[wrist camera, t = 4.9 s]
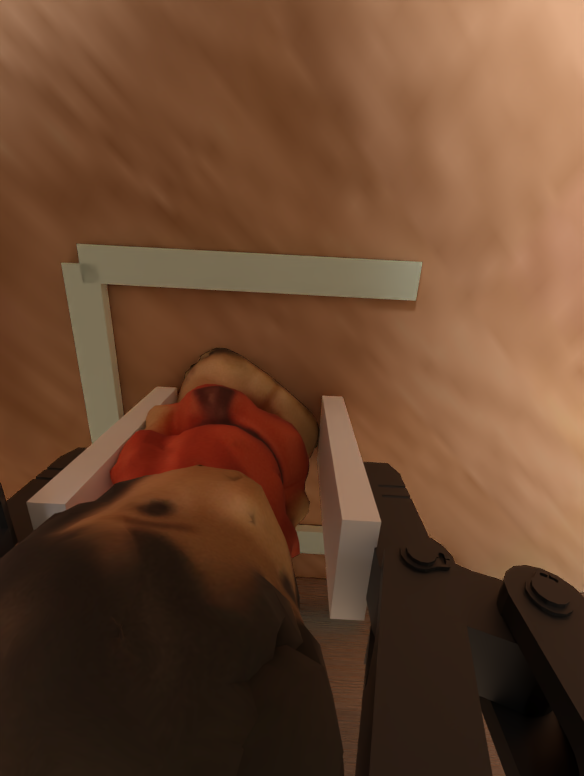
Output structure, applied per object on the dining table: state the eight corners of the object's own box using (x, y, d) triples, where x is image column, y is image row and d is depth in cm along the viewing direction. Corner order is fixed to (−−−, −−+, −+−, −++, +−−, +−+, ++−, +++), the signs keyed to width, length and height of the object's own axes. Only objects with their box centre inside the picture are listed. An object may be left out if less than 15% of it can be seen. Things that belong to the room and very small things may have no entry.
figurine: (312, 493, 15) (355, 1271, 3) (179, 483, 15) (-224, 1239, 3) (328, 347, 12) (604, 1175, 1) (172, 335, 12) (-1065, 1082, 1)
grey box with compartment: (128, 720, 20) (48, 937, 14) (99, 566, 16) (-35, 772, 10) (569, 745, 20) (697, 975, 14) (653, 597, 16) (893, 826, 10)
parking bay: (113, 535, 16) (108, 542, 15) (65, 243, 11) (57, 242, 11) (370, 550, 16) (372, 556, 15) (418, 261, 11) (422, 261, 11)
